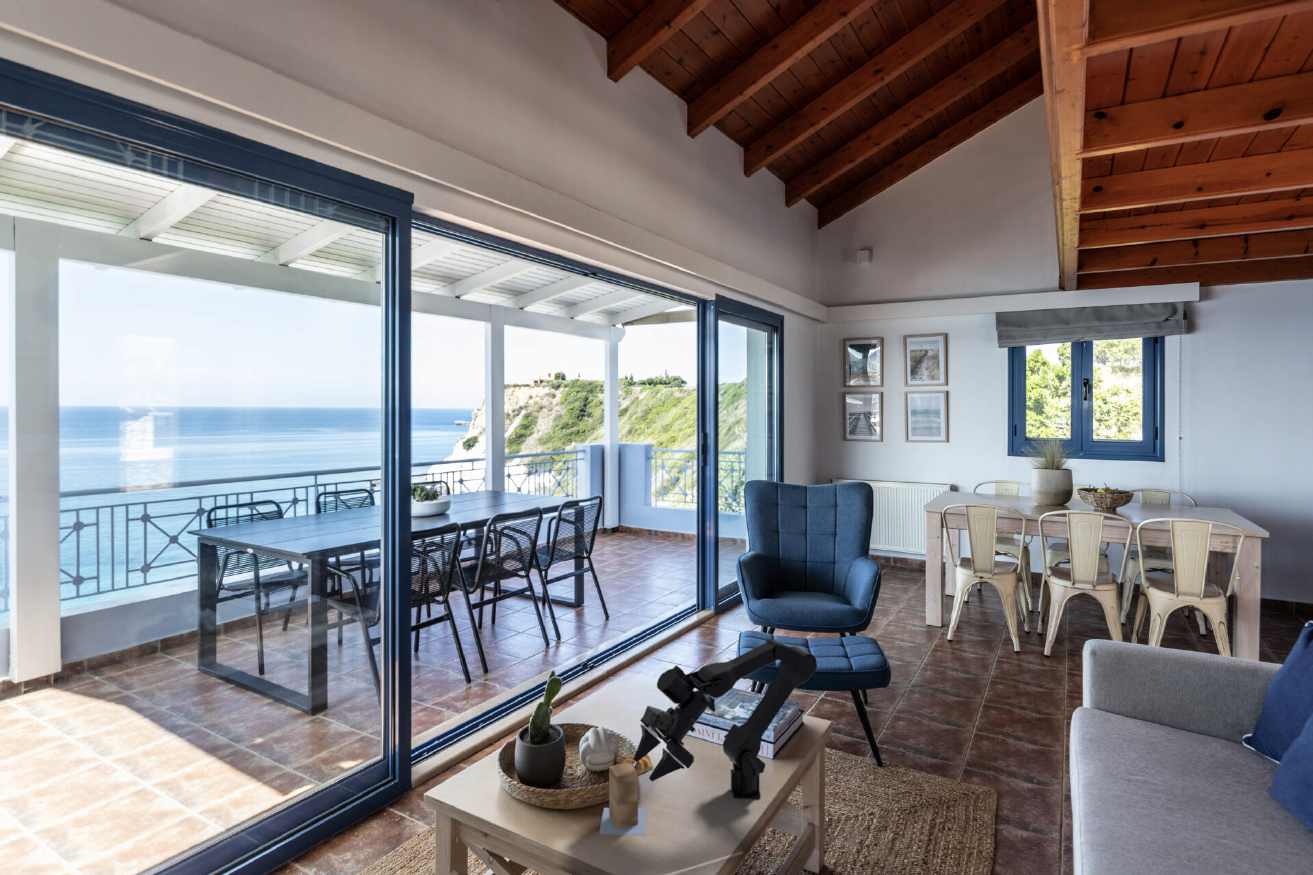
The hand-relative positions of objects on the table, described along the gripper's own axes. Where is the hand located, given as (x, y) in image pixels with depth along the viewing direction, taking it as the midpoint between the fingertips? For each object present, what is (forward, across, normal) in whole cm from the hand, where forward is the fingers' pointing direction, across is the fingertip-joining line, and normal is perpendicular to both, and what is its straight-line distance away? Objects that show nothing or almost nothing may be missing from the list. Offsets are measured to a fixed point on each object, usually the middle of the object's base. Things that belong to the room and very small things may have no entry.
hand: (642, 769), depth 159 cm
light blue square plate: (+11, 0, +5) cm, 12 cm away
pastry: (+4, -20, +13) cm, 24 cm away
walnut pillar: (+11, 0, +4) cm, 12 cm away
